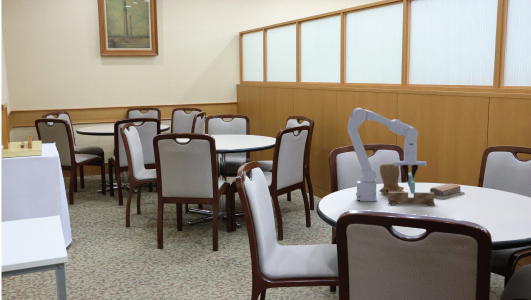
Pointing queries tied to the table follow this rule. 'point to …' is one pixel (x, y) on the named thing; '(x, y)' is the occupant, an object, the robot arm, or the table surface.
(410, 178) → the slotted panel
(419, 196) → the notched board
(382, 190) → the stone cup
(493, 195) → the table surface
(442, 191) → the packaged product
